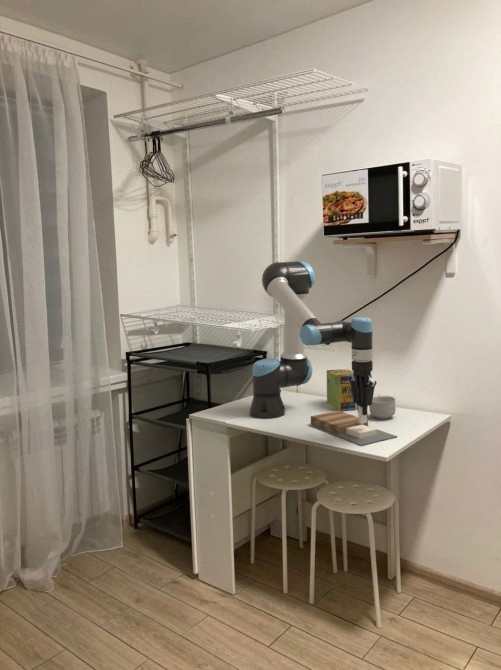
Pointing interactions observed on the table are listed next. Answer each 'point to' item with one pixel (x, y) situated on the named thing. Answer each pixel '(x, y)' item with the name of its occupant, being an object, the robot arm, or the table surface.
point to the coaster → (361, 431)
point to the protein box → (340, 390)
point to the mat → (363, 441)
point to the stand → (336, 421)
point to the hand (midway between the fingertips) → (362, 422)
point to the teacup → (382, 407)
